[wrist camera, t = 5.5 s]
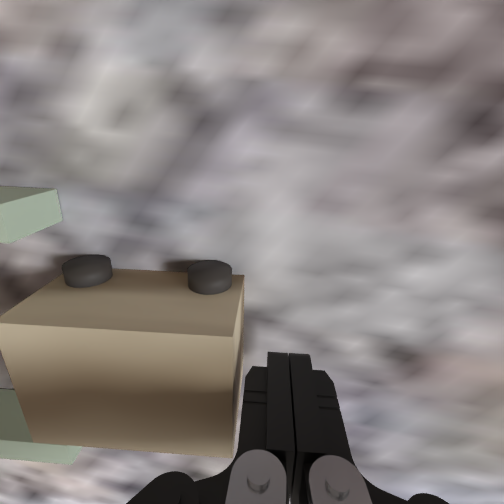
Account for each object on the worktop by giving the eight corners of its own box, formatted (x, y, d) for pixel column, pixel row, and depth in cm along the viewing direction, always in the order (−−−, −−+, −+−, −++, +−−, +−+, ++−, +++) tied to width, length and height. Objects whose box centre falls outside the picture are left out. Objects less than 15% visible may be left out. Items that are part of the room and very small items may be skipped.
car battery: (71, 251, 12) (-16, 304, 8) (244, 260, 12) (232, 318, 8) (97, 371, 14) (37, 454, 11) (242, 380, 14) (232, 469, 10)
